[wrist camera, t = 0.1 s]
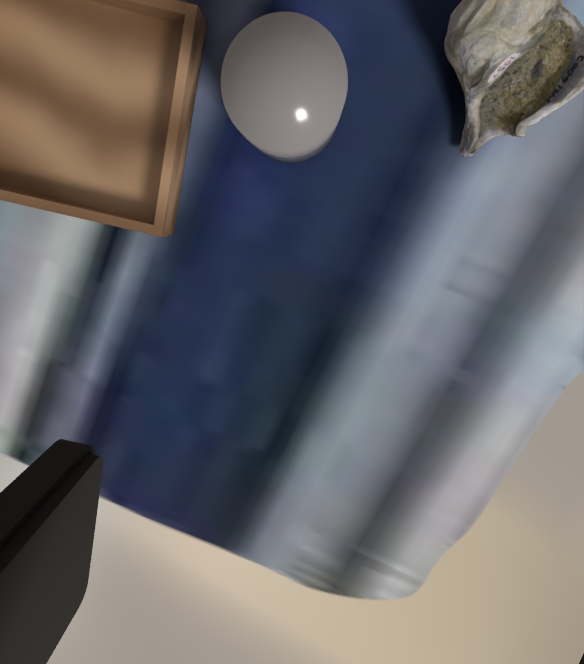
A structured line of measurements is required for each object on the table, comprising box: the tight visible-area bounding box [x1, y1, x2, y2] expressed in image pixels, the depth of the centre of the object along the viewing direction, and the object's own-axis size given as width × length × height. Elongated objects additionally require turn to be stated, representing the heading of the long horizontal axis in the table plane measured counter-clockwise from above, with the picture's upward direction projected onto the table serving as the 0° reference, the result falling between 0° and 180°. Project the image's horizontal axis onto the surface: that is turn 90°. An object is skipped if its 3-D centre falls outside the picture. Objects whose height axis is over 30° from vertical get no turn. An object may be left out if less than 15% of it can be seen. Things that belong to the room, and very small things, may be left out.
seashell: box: [444, 0, 584, 157], centre depth 29 cm, size 10×17×10 cm, turn 157°
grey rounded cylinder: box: [221, 12, 348, 164], centre depth 31 cm, size 7×7×9 cm
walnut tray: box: [0, 0, 207, 237], centre depth 35 cm, size 15×15×3 cm
